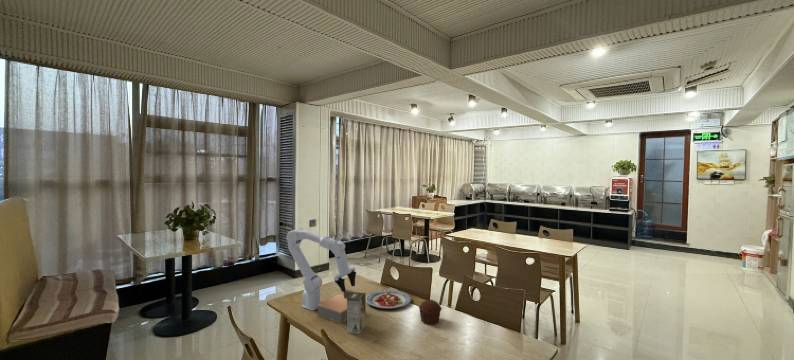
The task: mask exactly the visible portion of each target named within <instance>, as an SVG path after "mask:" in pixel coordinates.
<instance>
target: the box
mask: <svg viewBox="0 0 794 360" xmlns="http://www.w3.org/2000/svg"><path fill="white" fill-rule="evenodd" d="M317 316H319V317H321V318H324V319H327V320H329V321H330V320H331V321H334V322H336V323H339V324H342V323H344V322H346V321H347V311H345V312H343V313H338V312H335V311H332V310H329V309H326V308H323V307H320V306H318V309H317Z"/></svg>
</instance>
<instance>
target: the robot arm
mask: <svg viewBox="0 0 794 360" xmlns="http://www.w3.org/2000/svg"><path fill="white" fill-rule="evenodd" d="M285 239H286V241H287V248H288V251H289V252H290V254H291V256H292V258H293V260H294V262H295V263H296V265H297V267H298V269H299V271H300V272H301V275H302V277H303V279H302V283H303V286H304V290H303V292H302V305H301V307H302V308H304V309H308V310H310V311H315V310H318V306H317V304H319V303H321V286H322V284H323V280H322V277H321V276H319V275H318V273H316V272H315V271H313V270H312V268H311V265H310V264H309V262H308V260H307V259H306V256H305V254H304V252H303V251H302V249H301V248H300V245H301V244H302V243H301V242H302V241H303V240H308V241H312V242H314V243H317V244H319V246H320V247H321V248H324V249H326V250H329V251H331V253H332V254H334V257H335V259H334V260H335V261H336V262H335V263H336V266H337V269H338V274H337V275H334V277H333V280H334V282H335V284H336V285H338V287H339V289H340V291H341V292H342V293H344V292H345V291H346V290H347V289H346V286H345V285H346V284H345V280H346V279H345V278H344V277H345V276H347V277H348V279H349V283H350V286H351V287H355V286H356V275H357V271H356V268H355V267H354V266H353V267H351V268H350V267H349V261H348V258H347V254H346V250H345V249H346V244H345V242H343V241H342V240H337V239H332V238H331V237H330V236H328V235H327V236H322V237H321V236H319V235H317V234H316V233H313V232H310V231H309V230H307V229H306V228H305V229H304V228H302V227H298V228H296V229H293V230H290V231H288V232H287V235H286V238H285Z"/></svg>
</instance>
